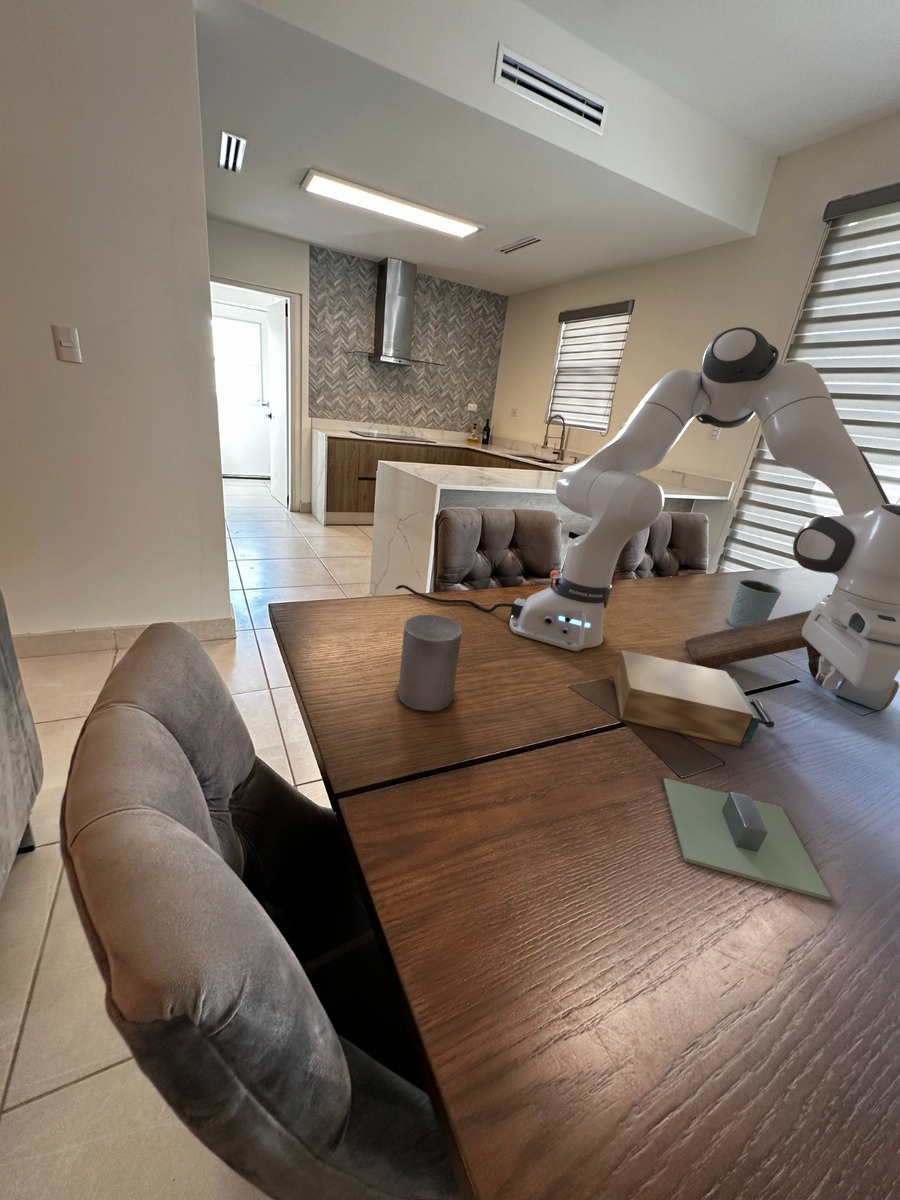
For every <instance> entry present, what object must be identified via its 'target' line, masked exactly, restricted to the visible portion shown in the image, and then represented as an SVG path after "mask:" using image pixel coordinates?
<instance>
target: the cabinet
mask: <svg viewBox="0 0 900 1200" xmlns="http://www.w3.org/2000/svg"><path fill="white" fill-rule="evenodd" d="M731 678H732V677H731V676H730V675H729V673H728V672H727V671H726V670H721V669H717V668H713V667H709V668H707V667H702V666H697V665H695V664H692V663H686V662H682V661H678V660H677V661H676V660H672V659H667V658H662V657H659V656H658V657H657V656H652V655H648V654H642V653H639V652H633V651H628V650H624V649H622V650H621V651H620V655H619V659H618V662H617V666H616V669H615V673H614V676H613V682H614V687H615V693H616V699H617V705H618V711H619V716H620V720H621V721H626V722H630V723H634V724H639V725H643V726H649V727H652V728H656V729H661V730H666V731H670V732H675V733H679V734H682V735H688V736H692V737H697V738H701V739H705V740H709V741H713V742H718V743H722V744H727V745H732V746H735V747H740V746H741V744H742V742H743V740H742V739H743V737H744V735H745V732H746V730H747V728H748V726H749V723H750V721H751V718H752V717H753V714H752V712H751V710H750V709H749V707H748V705H747V704H746V702H745V701H744V699H743V697H742V696H741V694H740V693H739V691H738V689H737V688H736V686H735V685H734V683H733V681H732V680H731Z"/></svg>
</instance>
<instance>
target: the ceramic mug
mask: <svg viewBox="0 0 900 1200" xmlns="http://www.w3.org/2000/svg"><path fill="white" fill-rule="evenodd" d="M837 687H838V688H837V689H836V692H835V694H836V696H838V697H840V698H844V699H846V700H849V701H851V702H854V703H857V704H860V705H862V706H864V707H867V708H870V709H872V710H876V711H881V712H882V711H885V710H887V708H889V707H890V705H891V704H892V702H893V701H894V698H895V697H896V695H897V693H898V691H899V688H900V684H899V681H898V680H896V679H894V680H893V681H892V683H891V684H890V686H889V687H888V688H887V689H885V690H883V691H881V692H873V691H868V690H864V689H860V688H857V687H855V686H854V685H853V684H852V683H851V682H850V681H849V680H848V679H847V678H845V679H843V680H841V681H840V682H839V686H837Z"/></svg>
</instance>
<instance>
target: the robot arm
mask: <svg viewBox="0 0 900 1200" xmlns="http://www.w3.org/2000/svg"><path fill="white" fill-rule="evenodd" d="M779 354H780V353H779V350H778V348H777V347H776V346H774V345H772V344H771V343H769V341H768V340H767V339H766V338H765V336H764V335H763V334H762V333H761V332H759V331H758V330H756V329H755V328H752V327H747V326H737V327H731V328H729V329H726V330H724V331H722V332H720V333H719V334H717V335H716V336H715V337H713V338H712V340H711V341H710V342H709V344H708V345H707V347H706V348H705V352H704V354H703V357H702V363H701V369H702V370H701V371H698V372H694V371H692V370H690V369H685V368H678V369H673V370H671V371H669V372H667V373H666V374H664V375H663V377H661V378H660V379H659V380H658V382H656V383H655V384H654V385H653V387H652V388H650V390H649V391H648V392H647V393H646V395H645V396H644V397H643V398H642V400H641V401H640V402H639V404H638V405H637V407H636V408H635V409H634V411H633V412H632V414H631V415H630V416H629V418H628V419H627V420H626V422H625V423H624V424H623V426H621V428H620V429H619V431H618V432H617V433H616V434H615V436H613V438H612V439H610V440H609V441H608V442H607V443H606V444H605V445H604V446H603V447H601V448H600V449H599V450H597V451H596V452H595V453H593V454H591V455H590V456H589V457H587V458H586V459H583V460H581V461H580V462H577V463H575V464H571V465H569V466H567V467H566V468H565V469H564V470H563V471H562V472H561V473H560V475H559V477H558V479H557V481H556V486H555V494H556V498H557V500H558V501H559V503H560V504H561V505H563V506H564V507H566V508H567V509H569V511H572V512H573V513H576V514H579V515H580V516H581V515H582V516H585V517H587V518H591V519H592V520H591V524H590V526H589V529H587V532H586V533H585V534H582V535H579V536H577V537H575V538H573V539H572V540H571V541H570V542H569V544H568V545H567V549H566V555H565V558H564V562H563V563H564V564H563V567H562V571H561V572H560V573H559V571H558V570H555V569H553V570H552V571H551V572H550V575H549V577H550V579H551V580H550V586H549V587H547V588H545V589H543V590H541V591H537V592H536V593H532V594H531V595H529V596H528V597H527V599H525V598H520V597H516V599H515V600H514V601H513V602H512V603H507V602H505V603H504V602H500V603H496V604H494V605H493V606H492V607H491V608H485V607H483V606H481V605H479V604H478V603H476V602H474V601H472V600H468V599H443V598H437V597H433V596H430V595H426V594H424V593H421V592H418V591H416V590H414V589H412V588H411V587H410V586H408V585H405V584H399V585H397V586H396V587H395V589H394V590H400V589H405V590H407V591H408V592H410V593H412V594H413V595H415V596H418V597H421V598H424V599H427V600H429V601H433V602H438V603H447V604H455V603H456V604H458V603H459V604H461V603H462V604H469V605H471V606H473V607H475V608H477V609H479V610H481V611H483V612H486V613H491V612H494V611H495V610H496V609H497V608H502V607H505V608H511V609H510V619H509V624H508V625H509V628H510V630H511V632H512V633H514V634H515V635H518V636H521V637H524V638H528V639H531V640H536V641H539V642H541V643H545V644H549V645H551V646H556V647H559V648H562V649H566V650H569V651H572V652H579V651H581V650H583V649H590V648H595V647H598V646H600V645H602V644H603V642H604V619H605V618H604V617H605V611H606V608H607V607H608V604H609V601H610V596H611V593H612V580H613V576H614V574H615V573H614V572H615V569H616V567H617V563H618V560H619V557H620V554H621V552H622V550H623V549H624V547H625V546H626V544H627V543H628V542H629V541H630V540H631V539H632V538H633V537H634V536H635V535H636V534H638V533H640V532H642V531H644V530H647V529H648V528H650V527H651V526H653V525H654V524H655V523H656V522H657V521H658V520H659V518H660V516H661V515H662V513H663V509H664V505H665V495H664V491H663V488H662V487H661V486H660V484H658V483H656V482H654V481H652V480H651V479H648V478H647V477H645V476H642V475H640V473H642V472H645V471H648V470H650V469H653V468H656V467H657V466H659V465H660V464H661V463H662V462H664V460H665V459H666V457H667V456H668V454H669V453H670V452H671V450H672V449H673V447H674V446H675V445H676V443H677V442H678V441H679V439H680V437H681V436H682V435H683V433H684V432H685V431H686V429H687V427H688V426H689V425H690V423H691V422H692V421H693V420H694V418H696V420H697V421H698V422H699V423H700V424H702V425H711V426H712V427H716V428H720V429H721V428H722V429H733V428H738V427H740V426H742V425H745V424H747V423H748V422H749V421H750V420H751V419H752V418H753V417H754V416H755V415H756V416H757V418H758V420H759V424H760V429H761V432H762V436H763V437H762V438H763V441H764V444H765V447H766V448H767V450H768V451H769V453H770V455H771V456H772V458H773V459H774V460H775V461H776V462H778V463H780V464H781V465H783V466H785V467H788V468H790V469H793V470H795V471H799V472H800V473H803V474H805V475H807V476H810V477H812V478H814V479H816V480H817V481H819V482H821V483H823V485H825V486H826V487H828V489H829V490H830V491H831V492H832V493H833V495H834V498H835V499H836V501H837V503H838V506H839V508H840V510H841V512H842V514H835V515H832V514H831V515H819V516H814V517H813V518H811V519H809V520H807V521H806V522H805V523H804V524H803V525H802V526H801V527H800V528H799V529H798V531H797V533H796V534H795V537H794V539H793V543H792V553H793V556H794V558H795V561H796V562H797V563H798V564H799V565H800V566H801V567H802V568H803V569H806V570H809V571H811V572H815V573H821V574H830V575H831V574H832V575H834V576H836V578H837V581H836V583H835V585H834V588H833V589H832V591H831V593H830V594H827V595H825V596H824V597H823V598H822V600H821V601H819V602H817V603H816V604H815V605H814V607H812V609H811V610H812V611H811V613H810V615H809V617H808V618H807V620H806V622H805V624H804V626H803V628H802V636H803V637H804V638H805V639H806V640H807V641H808V642H809V643H810V644H811V645H812V646H813V647H814V648H815V649H816V650H817V651H818V652H819V653H820V654H821V656H820V658H819V671H818V673H817V675H816V678H815V679H816V680H817V681H818V682H819V683H820V684H819V685H820V686H821V687H822V688H823V689H825V690H830V691H834V690H836V688H837V687H838V684H839V683H841V681H842V680H843V679H845V678H847V679H848V680H849V681H850V682H851V683H852V684H853V685H854V686H855V687H857V688H860V689H864V690H868V691H873V692H881V691H883V690H885V689H887V688H888V687H889V686H890V684H891V683H892V681H893V680H895V678H896V677H897V675H898V673H899V672H900V505H899V504H893V503H891V502H890V500H889V497H888V496H887V494H886V492H885V491H884V489H883V486H882V485H881V483H880V481H879V479H878V477H877V475H876V473H875V471H874V469H873V467H872V465H871V464H870V462H869V460H868V459H867V457H866V456H865V454H864V452H863V451H862V450H861V448H860V447H859V446H858V444H857V443H856V442H855V441H854V439H853V438H852V437H851V435H850V434H849V433H848V431H847V429H846V427H845V425H844V423H843V421H842V420H841V418H840V415H839V414H838V411H837V409H836V406H835V404H834V400H833V398H832V395H831V393H830V391H829V388H828V387H827V385H826V383H825V381H824V380H823V378H822V376H821V375H820V374H819V372H818V371H817V369H816V368H815V367H814V366H813V365H812V364H810V363H808V362H805V361H791V362H787V363H778V360H779Z"/></svg>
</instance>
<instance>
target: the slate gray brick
mask: <svg viewBox="0 0 900 1200" xmlns="http://www.w3.org/2000/svg"><path fill="white" fill-rule="evenodd" d="M728 794H729V796H728V798H727V800H726V802H725V804H724V807H723V809H722V813H723V815H724V818H725V821H726V823H727V826H728V828H729V831H730V833H731V836H732V838H733V841H734V844H735V846H736V847H739V848H743V849H747V850H751V851H755V852H758V851H759V849H760V847H761V845H762V843H763V841H764V839H765V837H766V835H767V833H768V831H767V829H766V827H765V825H764V823H763V821H762V819H761V817H760V815H759V813H758V811H757V809H756V807H755V804H754V802H753V800H754V799H753V798H752V796H750V795H746V794H741V793H738V792H735V791H734V792H733V791H729V792H728Z"/></svg>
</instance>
